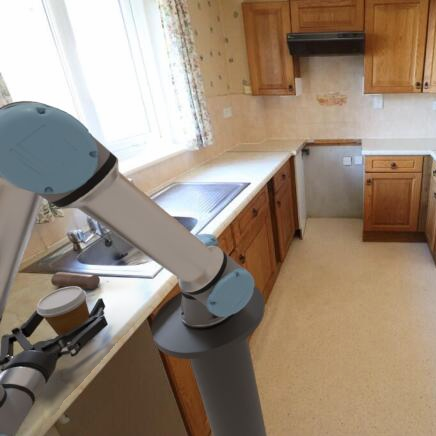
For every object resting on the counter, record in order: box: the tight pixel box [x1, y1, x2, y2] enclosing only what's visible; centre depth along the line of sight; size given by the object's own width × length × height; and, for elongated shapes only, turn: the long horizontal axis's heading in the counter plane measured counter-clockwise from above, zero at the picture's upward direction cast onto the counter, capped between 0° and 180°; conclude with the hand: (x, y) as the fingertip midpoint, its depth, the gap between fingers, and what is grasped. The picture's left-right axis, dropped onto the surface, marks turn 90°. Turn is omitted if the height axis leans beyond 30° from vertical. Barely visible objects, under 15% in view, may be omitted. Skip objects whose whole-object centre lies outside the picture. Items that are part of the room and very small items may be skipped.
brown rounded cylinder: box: [50, 271, 101, 290], centre depth 100 cm, size 13×4×4 cm, turn 80°
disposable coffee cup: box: [36, 286, 90, 336], centre depth 79 cm, size 10×10×12 cm
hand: (71, 308), depth 80 cm, fingers open, 13 cm apart
